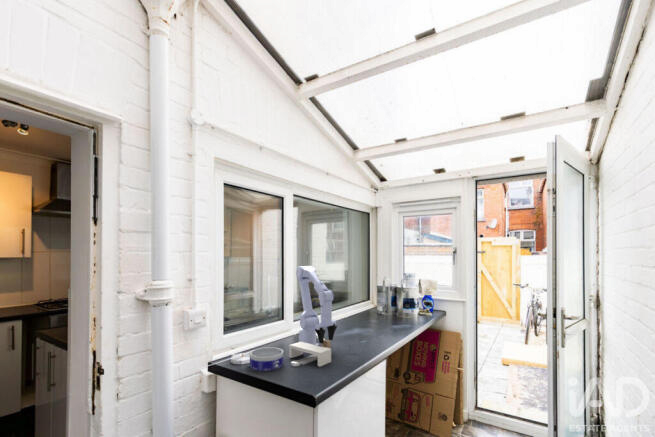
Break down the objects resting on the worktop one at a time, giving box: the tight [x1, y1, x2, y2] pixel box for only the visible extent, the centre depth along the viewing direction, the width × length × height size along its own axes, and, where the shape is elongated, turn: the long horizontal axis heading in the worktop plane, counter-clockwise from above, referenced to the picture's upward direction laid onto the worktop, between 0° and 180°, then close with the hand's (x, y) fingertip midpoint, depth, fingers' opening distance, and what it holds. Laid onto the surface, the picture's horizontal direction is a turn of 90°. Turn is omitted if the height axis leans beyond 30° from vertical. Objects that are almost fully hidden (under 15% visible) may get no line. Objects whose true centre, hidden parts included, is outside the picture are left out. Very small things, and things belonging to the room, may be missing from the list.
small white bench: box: [288, 341, 332, 367], centre depth 156 cm, size 20×8×6 cm, turn 51°
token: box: [290, 360, 301, 368], centre depth 148 cm, size 4×4×2 cm
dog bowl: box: [249, 346, 284, 372], centre depth 149 cm, size 15×15×6 cm
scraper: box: [296, 338, 332, 366], centre depth 158 cm, size 5×21×6 cm, turn 141°
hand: (326, 341), depth 166 cm, fingers open, 7 cm apart
